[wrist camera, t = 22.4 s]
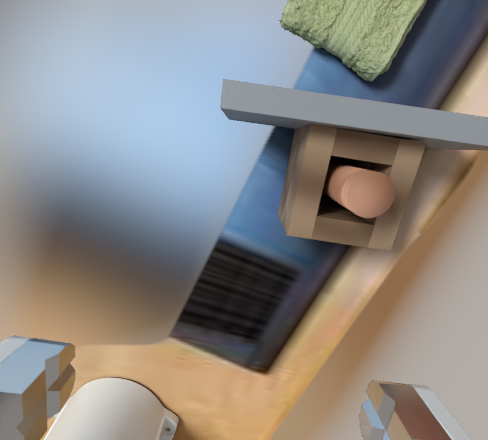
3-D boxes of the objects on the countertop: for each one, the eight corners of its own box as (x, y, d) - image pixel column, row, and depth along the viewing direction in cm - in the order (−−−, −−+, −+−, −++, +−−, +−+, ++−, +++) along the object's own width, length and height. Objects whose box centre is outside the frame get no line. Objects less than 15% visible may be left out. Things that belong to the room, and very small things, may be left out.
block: (357, 226, 33) (390, 251, 26) (278, 213, 33) (287, 235, 25) (381, 143, 30) (426, 142, 23) (294, 128, 30) (311, 123, 22)
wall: (438, 148, 31) (525, 151, 21) (228, 119, 30) (220, 107, 20) (444, 130, 30) (536, 124, 20) (231, 100, 29) (223, 79, 20)
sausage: (337, 193, 32) (387, 220, 21) (308, 189, 32) (342, 214, 20) (344, 163, 31) (401, 175, 20) (314, 159, 31) (353, 168, 20)
